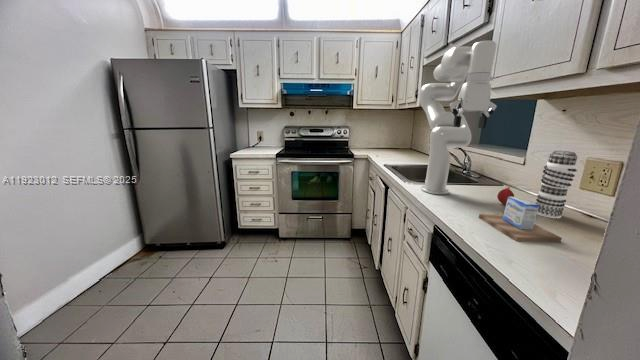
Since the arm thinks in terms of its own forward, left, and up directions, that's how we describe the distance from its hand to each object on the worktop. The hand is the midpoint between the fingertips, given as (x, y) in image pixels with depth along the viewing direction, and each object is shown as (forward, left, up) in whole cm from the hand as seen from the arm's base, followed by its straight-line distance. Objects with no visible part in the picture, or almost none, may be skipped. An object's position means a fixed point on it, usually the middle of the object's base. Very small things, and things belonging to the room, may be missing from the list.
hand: (469, 127), depth 96 cm
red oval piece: (-4, +24, -32) cm, 41 cm away
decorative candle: (+6, +34, -32) cm, 47 cm away
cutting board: (+20, +10, -32) cm, 39 cm away
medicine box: (+20, +10, -31) cm, 38 cm away
